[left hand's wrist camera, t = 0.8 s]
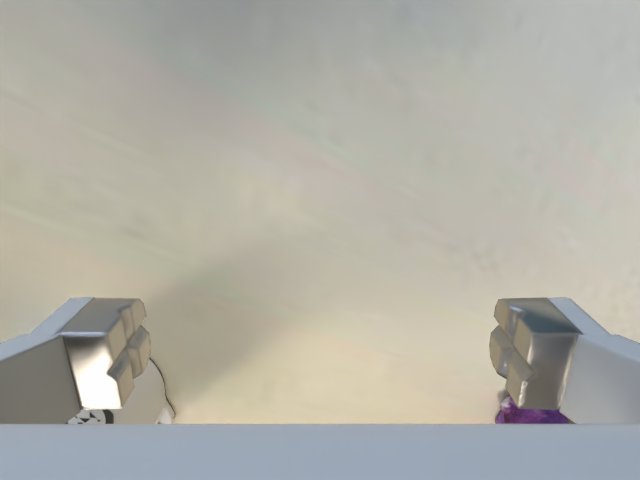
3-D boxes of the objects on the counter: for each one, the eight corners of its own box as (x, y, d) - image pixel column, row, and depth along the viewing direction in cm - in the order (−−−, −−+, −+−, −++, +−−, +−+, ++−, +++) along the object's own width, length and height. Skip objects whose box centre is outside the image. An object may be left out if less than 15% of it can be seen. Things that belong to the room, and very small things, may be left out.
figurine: (567, 436, 60) (644, 546, 46) (492, 445, 61) (547, 556, 47) (572, 381, 57) (657, 481, 43) (493, 390, 57) (552, 492, 43)
